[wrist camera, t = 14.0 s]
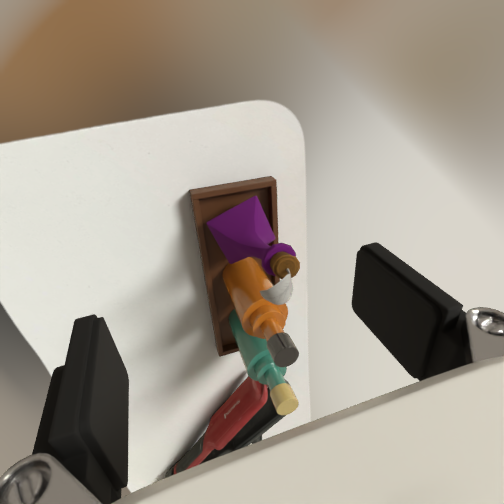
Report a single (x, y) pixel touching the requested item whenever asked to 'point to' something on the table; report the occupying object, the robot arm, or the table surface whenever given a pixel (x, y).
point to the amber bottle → (259, 309)
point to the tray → (213, 259)
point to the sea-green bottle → (263, 367)
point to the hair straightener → (233, 425)
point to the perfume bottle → (256, 246)
